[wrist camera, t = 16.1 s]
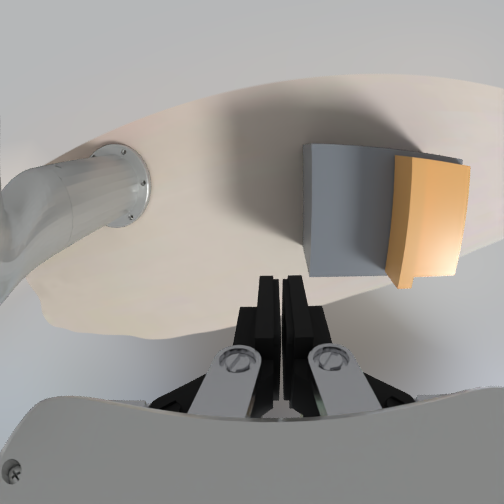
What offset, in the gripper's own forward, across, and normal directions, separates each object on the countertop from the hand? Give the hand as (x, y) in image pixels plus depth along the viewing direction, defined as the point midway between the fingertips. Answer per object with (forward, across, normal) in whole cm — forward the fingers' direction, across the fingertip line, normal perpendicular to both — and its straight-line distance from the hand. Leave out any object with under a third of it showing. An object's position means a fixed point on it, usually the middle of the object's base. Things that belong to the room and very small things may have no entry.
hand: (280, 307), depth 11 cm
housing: (+26, -13, 0) cm, 29 cm away
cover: (+16, -17, 0) cm, 23 cm away
